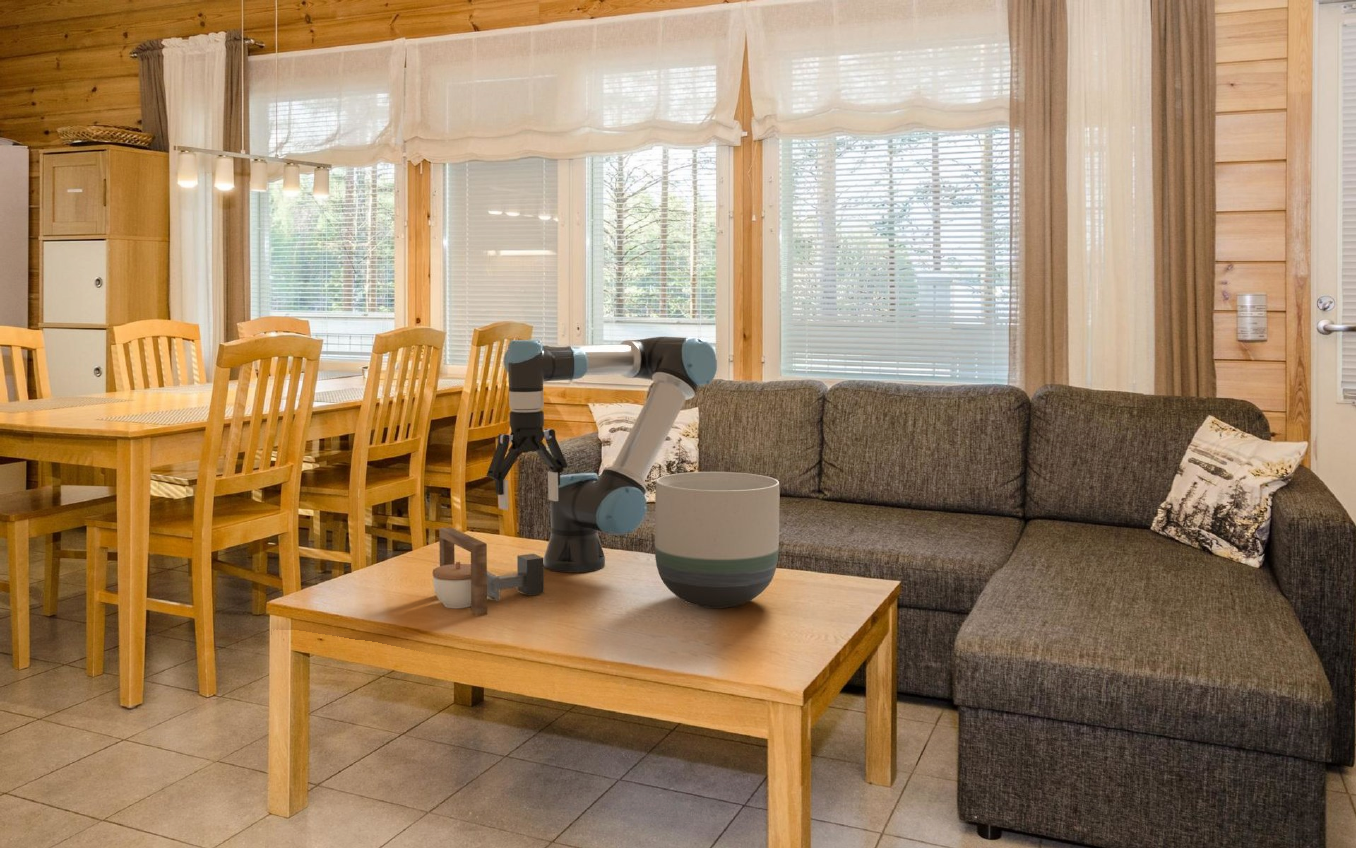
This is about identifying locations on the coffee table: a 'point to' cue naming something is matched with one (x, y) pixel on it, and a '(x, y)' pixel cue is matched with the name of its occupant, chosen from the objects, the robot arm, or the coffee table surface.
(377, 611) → the coffee table surface
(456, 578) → the lidded jar
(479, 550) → the bridge
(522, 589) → the cube and plate dumbbell
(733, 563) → the planter
